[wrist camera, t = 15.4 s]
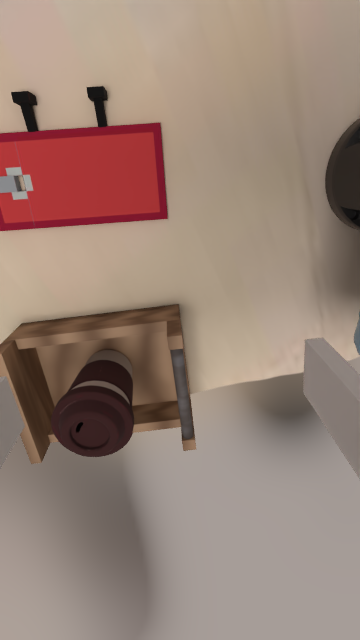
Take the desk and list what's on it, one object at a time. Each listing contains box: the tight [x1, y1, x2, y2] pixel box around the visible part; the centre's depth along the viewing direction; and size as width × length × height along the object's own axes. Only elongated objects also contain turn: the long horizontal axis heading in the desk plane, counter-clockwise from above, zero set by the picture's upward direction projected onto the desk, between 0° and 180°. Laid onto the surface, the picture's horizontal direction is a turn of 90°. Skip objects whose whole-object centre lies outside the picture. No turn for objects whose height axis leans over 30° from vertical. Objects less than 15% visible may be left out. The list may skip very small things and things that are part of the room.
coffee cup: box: [51, 350, 134, 457], centre depth 46 cm, size 10×10×15 cm
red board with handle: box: [0, 86, 168, 231], centre depth 41 cm, size 30×3×15 cm
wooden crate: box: [0, 304, 196, 464], centre depth 49 cm, size 24×18×11 cm
